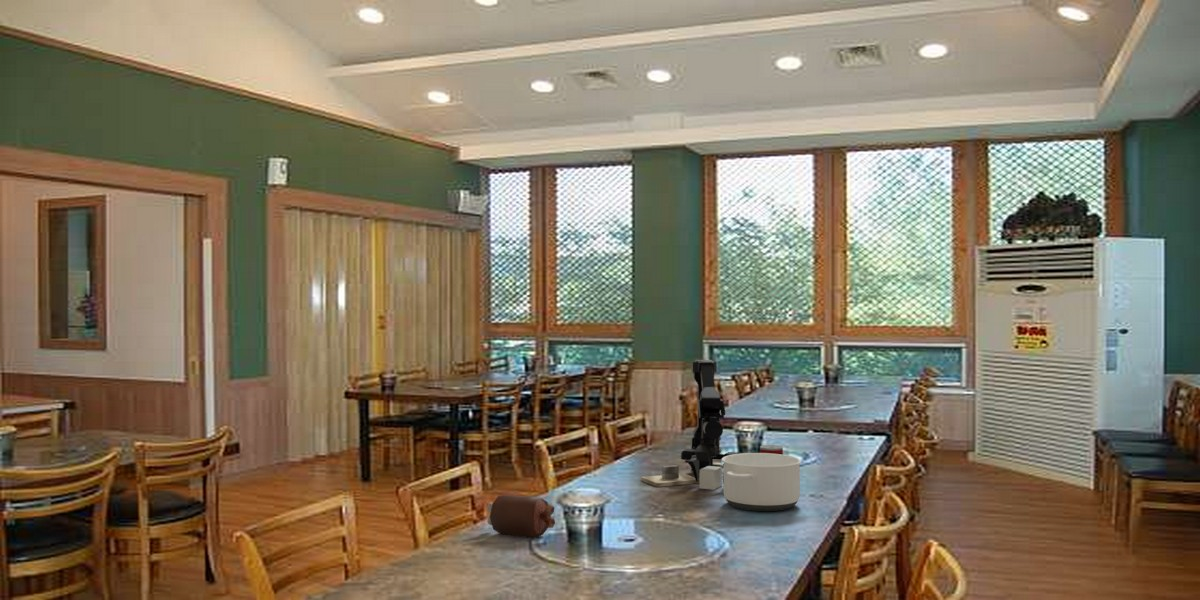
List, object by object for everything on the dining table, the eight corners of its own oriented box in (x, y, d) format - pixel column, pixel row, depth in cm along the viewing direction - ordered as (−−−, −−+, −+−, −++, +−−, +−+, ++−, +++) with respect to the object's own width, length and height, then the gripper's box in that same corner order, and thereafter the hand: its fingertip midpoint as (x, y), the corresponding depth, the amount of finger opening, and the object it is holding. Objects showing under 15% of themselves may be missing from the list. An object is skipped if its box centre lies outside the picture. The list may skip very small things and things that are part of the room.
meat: (475, 536, 243) (475, 497, 243) (500, 527, 253) (500, 489, 253) (542, 544, 234) (541, 503, 234) (565, 534, 244) (564, 494, 244)
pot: (772, 521, 257) (772, 471, 257) (698, 510, 271) (698, 463, 271) (821, 500, 284) (821, 455, 284) (752, 491, 298) (752, 448, 298)
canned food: (781, 477, 321) (781, 445, 321) (784, 481, 313) (783, 448, 313) (759, 476, 322) (758, 444, 322) (760, 481, 314) (760, 448, 314)
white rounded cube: (708, 484, 310) (707, 465, 310) (721, 485, 307) (721, 467, 307) (699, 488, 303) (699, 469, 303) (713, 489, 301) (713, 470, 301)
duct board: (683, 476, 323) (683, 461, 323) (700, 483, 311) (700, 467, 311) (641, 480, 316) (641, 465, 316) (656, 486, 305) (656, 470, 305)
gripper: (674, 436, 302) (674, 484, 302) (729, 439, 294) (730, 489, 294) (687, 431, 312) (687, 478, 312) (741, 435, 304) (741, 483, 304)
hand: (710, 482), depth 305 cm, fingers open, 9 cm apart
